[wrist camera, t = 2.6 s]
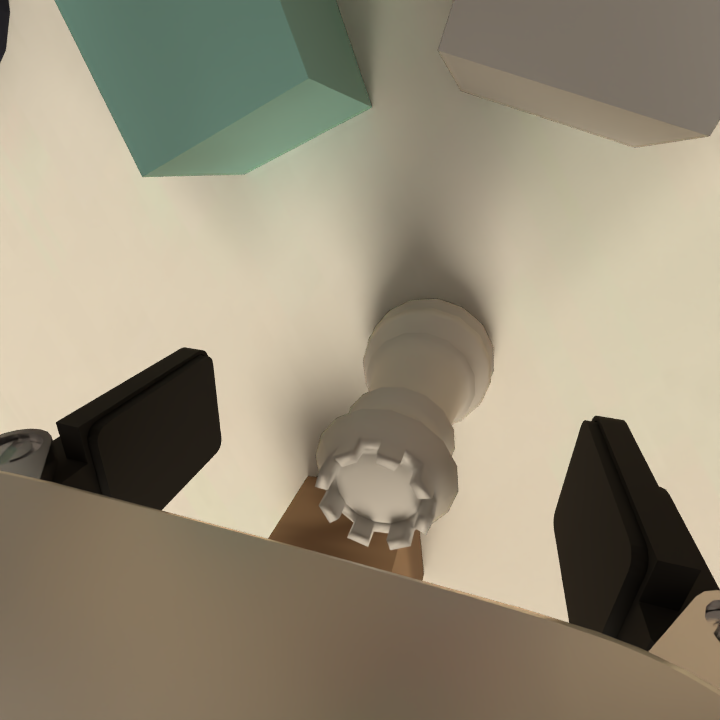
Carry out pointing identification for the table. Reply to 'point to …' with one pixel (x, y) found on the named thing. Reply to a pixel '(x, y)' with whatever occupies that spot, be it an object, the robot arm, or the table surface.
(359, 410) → the rook chess piece
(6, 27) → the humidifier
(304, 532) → the walnut cube
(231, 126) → the teal cube
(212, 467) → the table surface
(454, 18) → the grey cube
